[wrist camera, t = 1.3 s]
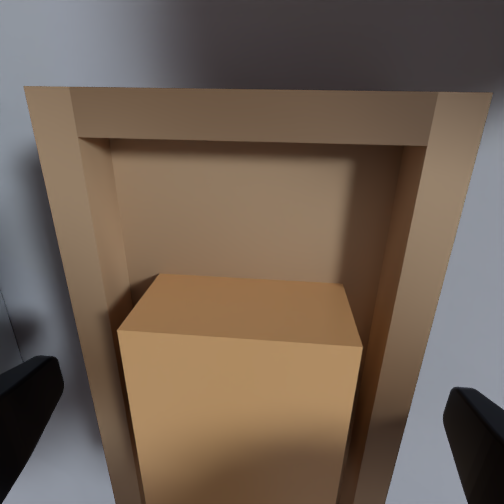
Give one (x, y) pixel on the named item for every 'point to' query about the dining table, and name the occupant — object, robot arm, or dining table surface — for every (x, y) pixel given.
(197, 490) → the block
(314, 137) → the shallow cardboard tray
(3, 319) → the dock
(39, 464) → the dining table surface
